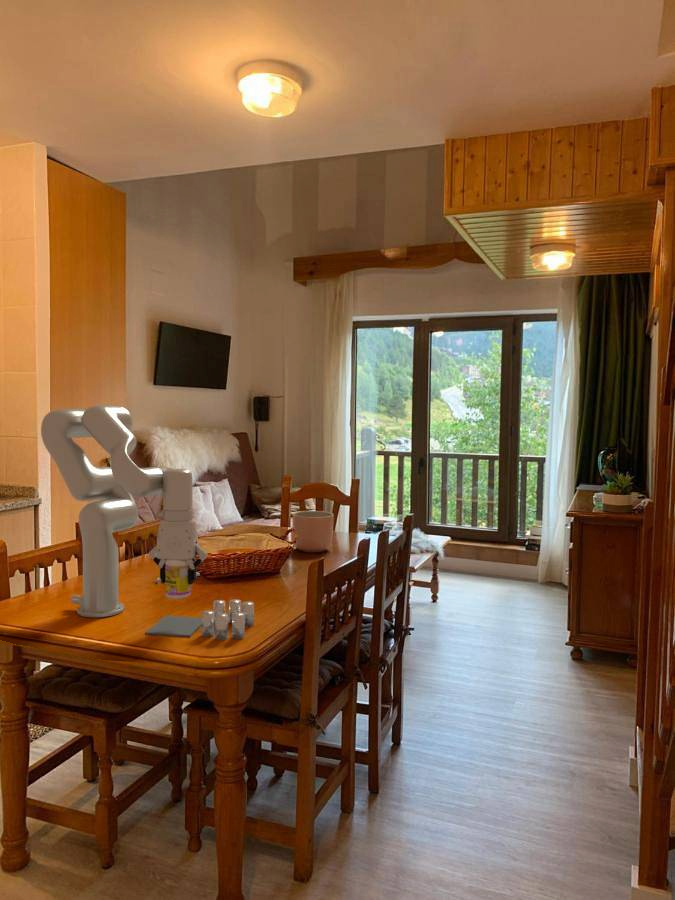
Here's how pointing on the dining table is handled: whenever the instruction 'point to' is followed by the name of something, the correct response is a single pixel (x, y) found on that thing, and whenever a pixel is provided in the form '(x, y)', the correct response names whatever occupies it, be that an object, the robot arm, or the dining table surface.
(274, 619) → the dining table surface
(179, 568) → the supplement bottle
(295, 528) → the planter
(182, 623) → the rubber mat
